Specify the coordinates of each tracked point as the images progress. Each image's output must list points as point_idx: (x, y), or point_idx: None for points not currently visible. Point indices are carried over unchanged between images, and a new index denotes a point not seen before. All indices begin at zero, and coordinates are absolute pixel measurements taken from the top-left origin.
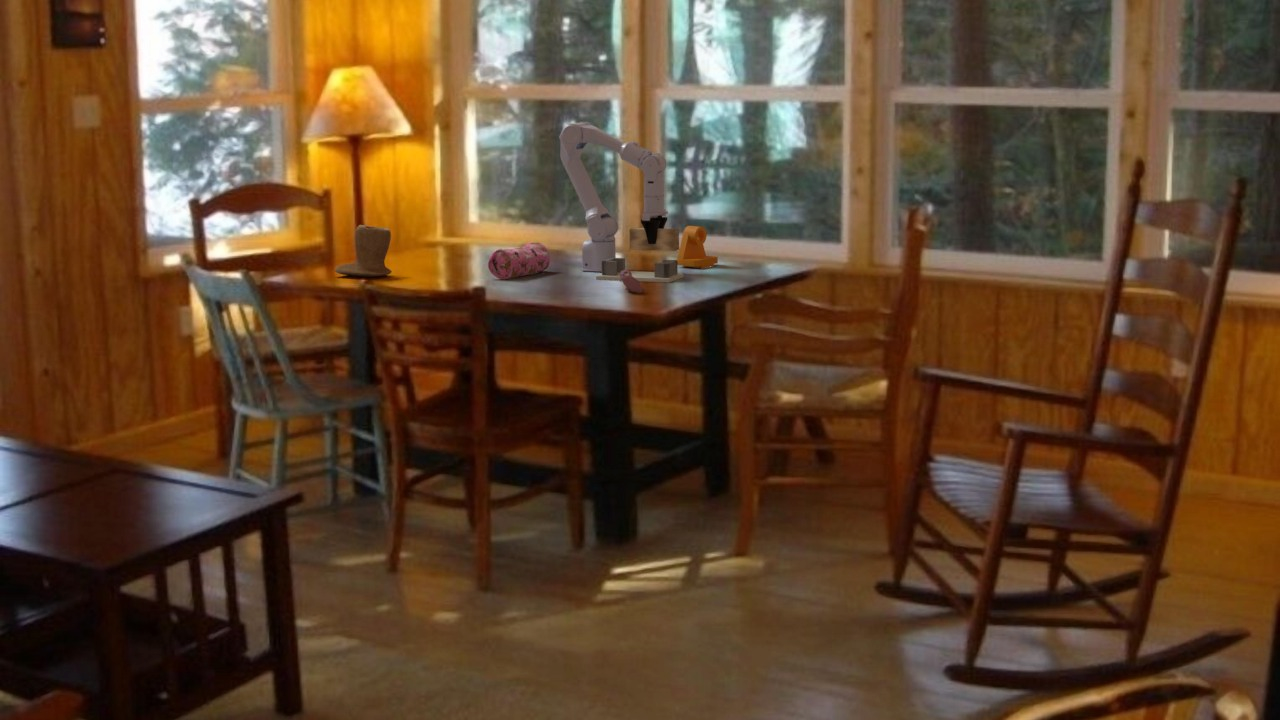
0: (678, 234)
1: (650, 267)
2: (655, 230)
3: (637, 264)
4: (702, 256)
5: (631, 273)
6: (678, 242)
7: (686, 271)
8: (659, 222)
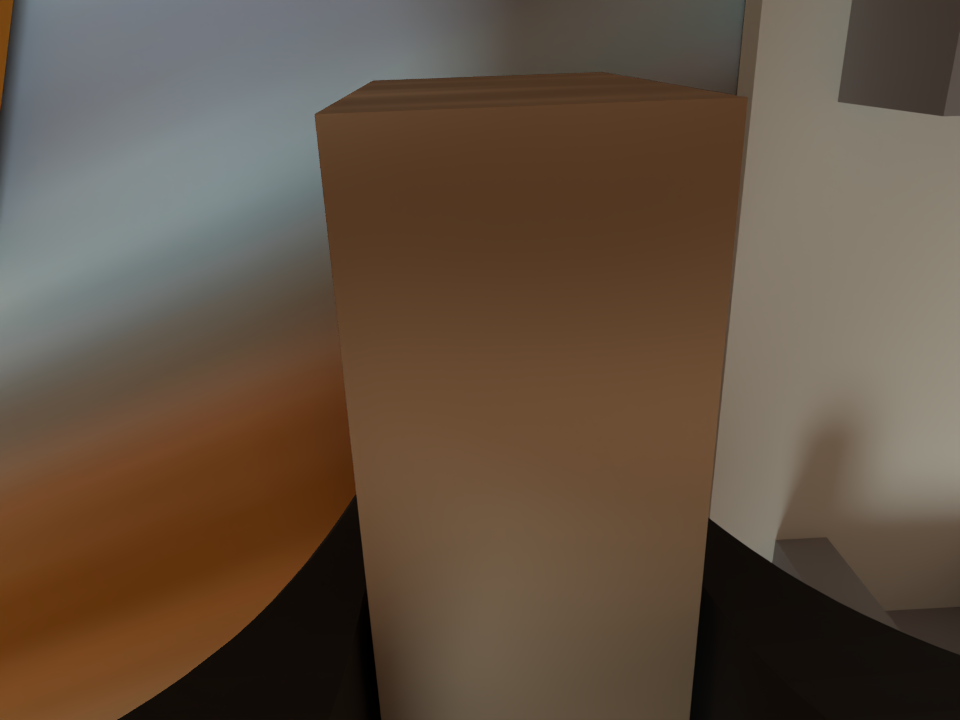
0: (388, 97)
1: (147, 520)
2: (837, 614)
3: (17, 693)
4: None
5: (878, 446)
6: (402, 86)
7: (269, 13)
8: (932, 712)
